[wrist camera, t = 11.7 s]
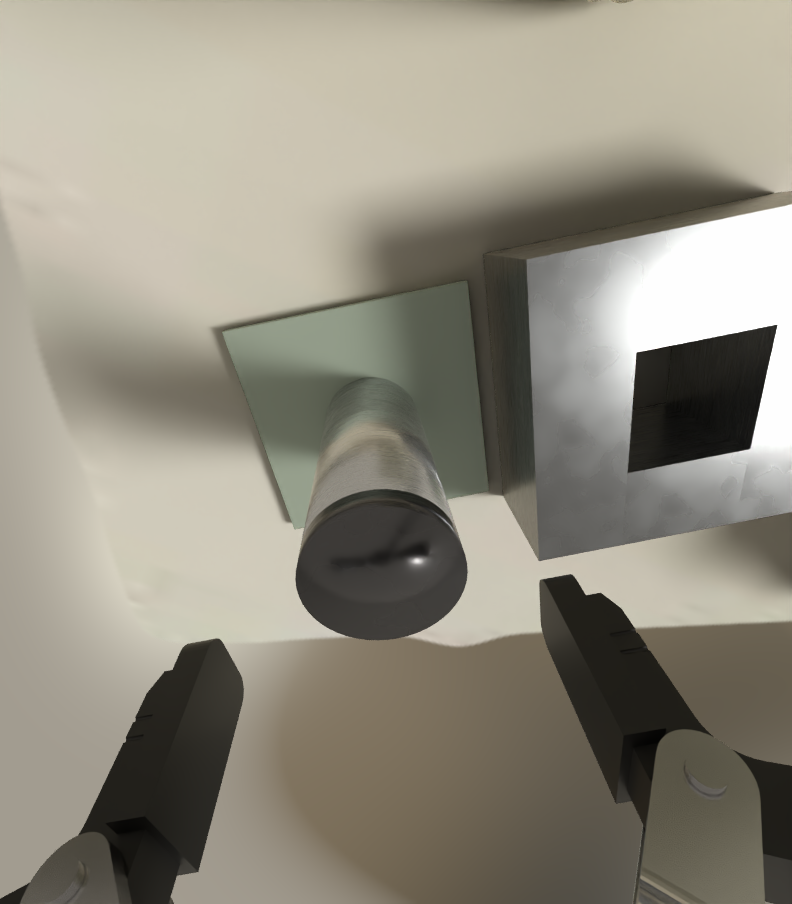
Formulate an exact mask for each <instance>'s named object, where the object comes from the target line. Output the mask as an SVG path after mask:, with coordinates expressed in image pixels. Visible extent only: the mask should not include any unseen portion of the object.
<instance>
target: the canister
mask: <svg viewBox="0 0 792 904" xmlns="http://www.w3.org/2000/svg"><path fill="white" fill-rule="evenodd" d="M588 1H590V2H593V1H599V0H588ZM611 1H613V2H616V3H627V2H630V1H632V0H611Z"/></svg>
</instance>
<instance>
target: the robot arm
mask: <svg viewBox="0 0 792 904" xmlns="http://www.w3.org/2000/svg"><path fill="white" fill-rule="evenodd" d="M539 587H540V613H541V627H542V631H543V635H544V639H545V642H546V645H547V648H548V650H549V652H550V655H551V657H552V659H553V661H554V664H555V666H556V668H557V671H558V673H559V675H560V677H561V680H562V682H563V684H564V686H565V689H566V691H567V693H568V696H569V698H570V700H571V702H572V705H573V707H574V709H575V711H576V714H577V716H578V718H579V721H580V723H581V725H582V728H583V730H584V732H585V734H586V737H587V739H588V741H589V743H590V746H591V748H592V750H593V752H594V755H595V757H596V759H597V761H598V764H599V766H600V768H601V771H602V773H603V775H604V778H605V780H606V782H607V784H608V787H609V789H610V791H611V794H612V796H613V798H614V800H615V803H616V804H617V803H623V802H628V801H632V802H633V804H634V806H635V808H636V811H637V813H638V815H639V817H640V819H641V821H642V823H643V829H642V836H641V844H640V852H639V859H638V867H637V874H636V882H635V889H634V897H633V904H765V901H766V902H770V903H773V904H792V766H789V765H783V764H777V763H772V762H766V761H761V760H757V759H753V758H751V757H747V756H745V755H743V754H740V753H738V752H736V751H734V750H732V749H731V748H730V747H728V746H727V745H725V744H724V743H723V742H721V741H719V740H718V739H716V738H714V737H713V736H712V735H711V734H710V733H709V732H708V731H707V730H706V729H705V728H704V727H703V726H702V725H701V724H700V723H699V721H698V720H697V719H696V717H695V716H694V715H693V713H692V712H691V710H690V709H689V707H688V706H687V704H686V703H685V701H684V700H683V698H682V697H681V695H680V694H679V693H678V691H677V690H676V688H675V687H674V685H673V684H672V682H671V681H670V679H669V678H668V676H667V675H666V674H665V672H664V670H663V669H662V668H661V666H660V665H659V664H658V662H657V660H656V659H655V657H654V656H653V654H652V653H651V652H650V651H649V650H648V649H647V646H646V644H645V643H644V641H643V640H642V639H641V637H640V635H639V634H638V633H636V631H635V628H634V626H633V625H632V623H631V622H630V621H629V619H628V618H627V616H626V615H625V613H624V612H623V610H622V609H621V608H620V607H619V606H617V605H616V604H615V603H613V602H612V601H611V600H609V599H608V598H607V597H606V596H604V595H603V594H602V593H597V594H591V595H585V593H584V591H583V590H582V588H581V587H580V585H579V583H578V582H577V580H576V579H575V577H574V576H573V575H571V574H569V575H564V576H559V577H553V578H548V579H542V580H540V583H539ZM243 692H244V688H243V681H242V677H241V675H240V673H239V671H238V669H237V667H236V666H235V664H234V662H233V660H232V658H231V657H230V655H229V653H228V651H227V649H226V648H225V646H224V644H223V642H222V641H221V640H220V639H212V640H206V641H201V642H195V643H190V644H187V645H185V646H184V647H183V648H182V650H181V652H180V654H179V656H178V659H177V661H176V663H175V665H174V668H173V670H170V671H165V672H164V673H163V674H162V676H161V677H160V678H159V679H158V680H157V682H156V683H155V684H154V686H153V687H152V688H151V689H150V690H149V691H148V693H147V694H146V696H145V699H144V701H143V703H142V705H141V707H140V709H139V711H138V713H137V715H136V721H135V722H133V724H132V726H131V728H130V730H129V732H128V734H127V736H126V742H125V743H123V745H122V747H121V749H120V751H119V753H118V755H117V758H116V760H115V762H114V764H113V766H112V768H111V770H110V772H109V774H108V777H107V779H106V781H105V783H104V785H103V787H102V789H101V791H100V793H99V796H98V798H97V800H96V802H95V804H94V806H93V808H92V810H91V812H90V814H89V817H88V819H87V821H86V823H85V825H84V827H83V828H82V830H81V832H80V833H79V835H78V836H76V837H74V838H72V839H71V840H69V841H68V842H66V843H65V844H63V845H62V846H61V847H60V848H59V849H57V850H56V851H55V852H54V853H53V854H52V855H51V856H50V857H49V858H48V859H47V860H46V861H45V863H44V864H43V865H42V866H41V867H40V869H39V870H38V871H37V873H36V874H35V876H34V877H33V879H32V880H31V882H30V883H28V884H27V885H25V886H23V887H21V888H19V889H17V890H16V891H14V892H12V893H10V894H8V895H6V896H4V897H3V898H1V899H0V904H174V902H173V900H172V898H171V893H172V890H173V887H174V883H175V880H176V876H177V875H183V874H189V873H195V872H198V870H199V867H200V863H201V859H202V855H203V851H204V848H205V843H206V840H207V836H208V832H209V829H210V825H211V821H212V817H213V813H214V809H215V806H216V802H217V798H218V794H219V790H220V786H221V783H222V779H223V775H224V771H225V767H226V764H227V760H228V756H229V752H230V748H231V744H232V740H233V737H234V733H235V729H236V725H237V721H238V717H239V714H240V709H241V706H242V702H243Z"/></svg>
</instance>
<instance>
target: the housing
mask: <svg viewBox="0 0 792 904" xmlns="http://www.w3.org/2000/svg"><path fill="white" fill-rule="evenodd" d="M483 259H484V270H485V282H486V294H487V306H488V318H489V330H490V342H491V354H492V366H493V378H494V390H495V402H496V414H497V426H498V438H499V450H500V461H501V473H502V485H503V496H504V498H505V500H506V502H507V504H508V506H509V507H510V509H511V511H512V513H513V515H514V516H515V518H516V520H517V522H518V524H519V526H520V527H521V529H522V531H523V533H524V535H525V536H526V538H527V540H528V542H529V544H530V546H531V547H532V549H533V551H534V553H535V555H536V556H537V558H538V560H539V561H542V560H547V559H552V558H557V557H563V556H568V555H573V554H578V553H583V552H588V551H594V550H599V549H604V548H609V547H614V546H619V545H625V544H630V543H635V542H640V541H645V540H650V539H655V538H661V537H666V536H671V535H676V534H681V533H686V532H692V531H697V530H702V529H707V528H712V527H717V526H722V525H728V524H733V523H738V522H743V521H748V520H753V519H759V518H764V517H769V516H774V515H779V514H784V513H790V512H792V191H788V192H779V193H773V194H768V195H763V196H758V197H754V198H749V199H744V200H739V201H734V202H730V203H725V204H720V205H715V206H710V207H706V208H701V209H696V210H691V211H686V212H682V213H677V214H672V215H667V216H662V217H658V218H653V219H648V220H643V221H638V222H634V223H629V224H624V225H619V226H614V227H610V228H605V229H600V230H595V231H590V232H586V233H581V234H576V235H571V236H566V237H562V238H557V239H552V240H547V241H542V242H538V243H533V244H528V245H523V246H518V247H514V248H509V249H504V250H499V251H494V252H490V253H485V254H483ZM671 345H672V353H671V362H670V371H669V379H668V388H667V397H666V403H664V404H659V405H654V406H649V407H644V408H639V409H634V410H632V406H633V392H634V379H635V365H636V353H637V352H642V351H647V350H652V349H657V348H661V347H666V346H671Z"/></svg>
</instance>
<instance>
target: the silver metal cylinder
mask: <svg viewBox="0 0 792 904" xmlns="http://www.w3.org/2000/svg"><path fill="white" fill-rule="evenodd" d="M467 573H468V572H467V562H466V557H465V554H464V551H463V548H462V545H461V542H460V538H459V535H458V532H457V529H456V526H455V523H454V520H453V517H452V514H451V511H450V508H449V505H448V502H447V499H446V496H445V493H444V490H443V487H442V484H441V481H440V478H439V475H438V472H437V469H436V466H435V463H434V460H433V457H432V454H431V451H430V447H429V444H428V441H427V438H426V435H425V432H424V429H423V426H422V423H421V420H420V417H419V414H418V411H417V408H416V405H415V403H414V401H413V399H412V398H411V396H410V395H409V394H408V392H407V391H405V390H404V389H403V388H402V387H401V386H399V385H398V384H396V383H394V382H392V381H390V380H387V379H383V378H376V377H368V378H362V379H358V380H355V381H353V382H350V383H349V384H347V385H345V386H344V387H343V388H341V389H340V390H339V391H338V392H337V393H336V394H335V396H334V397H333V398H332V400H331V402H330V404H329V407H328V409H327V414H326V419H325V424H324V429H323V434H322V440H321V445H320V450H319V455H318V460H317V465H316V470H315V476H314V481H313V486H312V491H311V496H310V501H309V507H308V512H307V517H306V522H305V527H304V532H303V538H302V543H301V548H300V553H299V558H298V563H297V568H296V588H297V591H298V595H299V597H300V599H301V601H302V604H303V605H304V607H305V608H306V609H307V611H308V612H309V613H310V614H311V615H312V616H313V617H314V618H315V619H316V620H317V621H318V622H320V623H321V624H322V625H324V626H326V627H327V628H329V629H331V630H333V631H335V632H337V633H340V634H343V635H346V636H349V637H353V638H358V639H365V640H389V639H396V638H401V637H405V636H409V635H412V634H415V633H418V632H420V631H422V630H424V629H427V628H428V627H430V626H432V625H433V624H435V623H437V622H438V621H439V620H441V619H442V618H443V617H444V616H445V615H447V614H448V613H449V612H450V611H451V610H452V608H453V607H454V606H455V605H456V603H457V602H458V600H459V599H460V597H461V595H462V593H463V591H464V588H465V585H466V581H467Z"/></svg>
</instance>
